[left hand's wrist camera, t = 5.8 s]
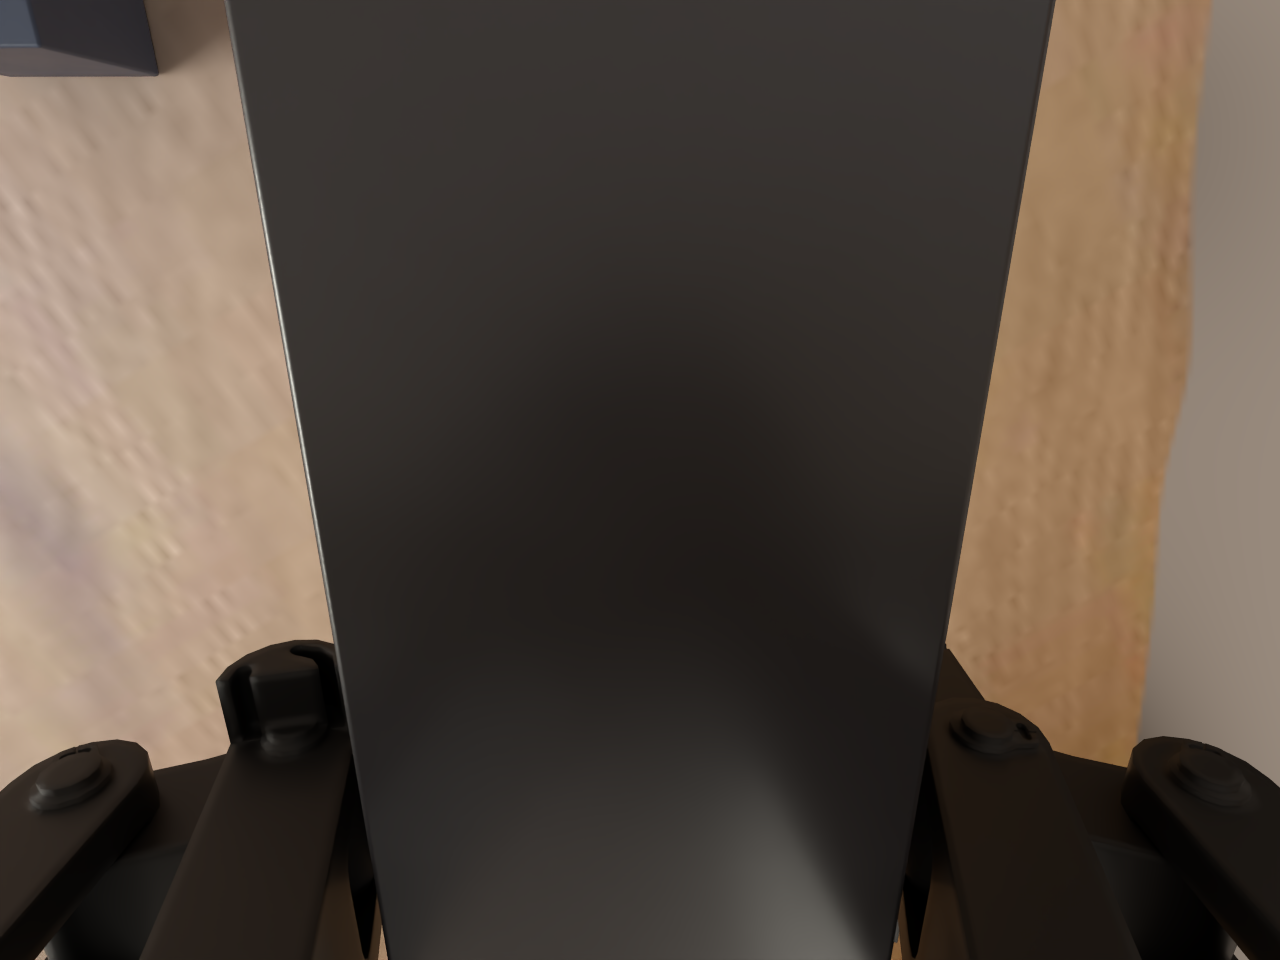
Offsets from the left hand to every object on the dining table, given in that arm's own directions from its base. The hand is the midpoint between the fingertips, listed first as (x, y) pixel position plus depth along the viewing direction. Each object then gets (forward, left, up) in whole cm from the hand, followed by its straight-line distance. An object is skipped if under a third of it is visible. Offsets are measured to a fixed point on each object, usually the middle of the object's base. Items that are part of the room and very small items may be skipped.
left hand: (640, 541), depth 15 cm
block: (+10, 0, 0) cm, 10 cm away
